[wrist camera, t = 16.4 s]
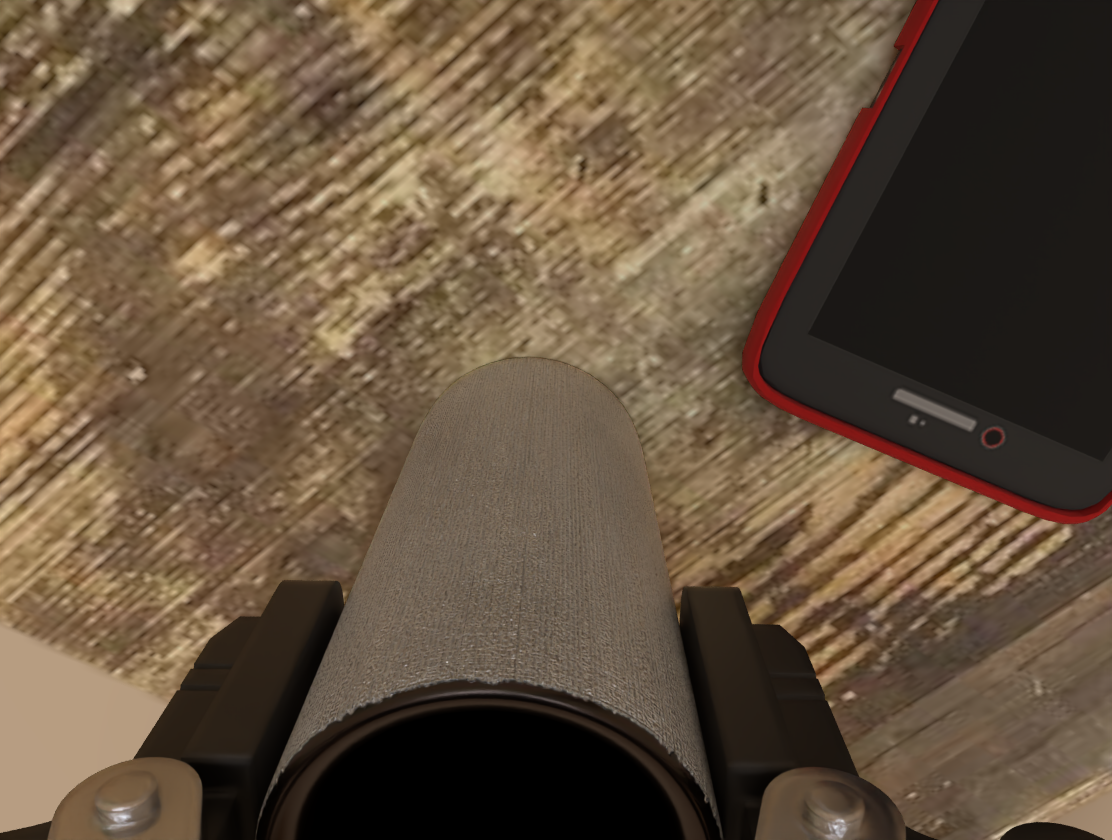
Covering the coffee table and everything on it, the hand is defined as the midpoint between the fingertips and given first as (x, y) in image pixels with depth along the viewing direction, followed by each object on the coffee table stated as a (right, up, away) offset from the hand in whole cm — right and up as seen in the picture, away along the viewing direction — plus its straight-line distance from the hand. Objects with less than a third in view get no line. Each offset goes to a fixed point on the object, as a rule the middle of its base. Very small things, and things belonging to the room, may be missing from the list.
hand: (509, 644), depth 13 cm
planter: (0, +2, +6) cm, 7 cm away
